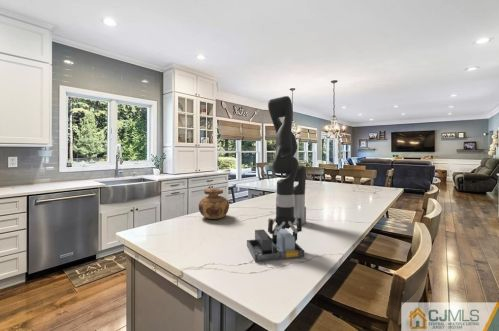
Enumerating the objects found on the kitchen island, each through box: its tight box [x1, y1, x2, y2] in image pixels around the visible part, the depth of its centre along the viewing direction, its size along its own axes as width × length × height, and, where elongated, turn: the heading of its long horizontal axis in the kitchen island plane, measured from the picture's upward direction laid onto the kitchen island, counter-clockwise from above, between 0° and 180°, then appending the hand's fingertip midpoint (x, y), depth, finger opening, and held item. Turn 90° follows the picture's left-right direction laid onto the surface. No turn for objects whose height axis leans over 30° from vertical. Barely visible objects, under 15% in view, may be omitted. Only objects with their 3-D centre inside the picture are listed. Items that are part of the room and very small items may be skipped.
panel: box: [276, 228, 295, 252], centre depth 104 cm, size 4×12×7 cm, turn 12°
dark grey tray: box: [246, 228, 305, 263], centre depth 103 cm, size 20×16×8 cm
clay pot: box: [198, 187, 230, 220], centre depth 153 cm, size 19×19×20 cm
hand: (284, 242), depth 104 cm, fingers open, 8 cm apart
